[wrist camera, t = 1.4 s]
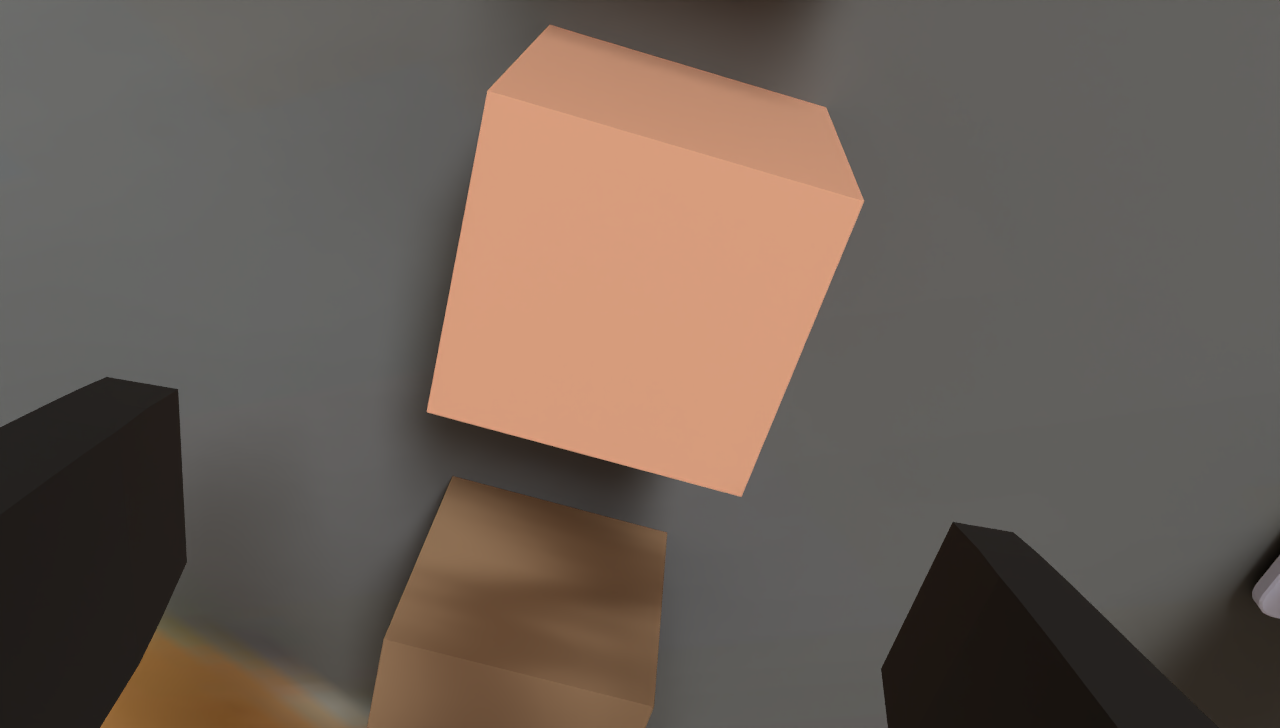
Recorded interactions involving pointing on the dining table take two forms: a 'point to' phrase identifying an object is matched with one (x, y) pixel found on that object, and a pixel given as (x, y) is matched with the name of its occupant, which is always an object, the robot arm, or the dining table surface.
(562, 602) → the walnut block
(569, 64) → the terracotta block
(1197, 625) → the dining table surface
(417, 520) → the dining table surface
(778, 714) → the dining table surface
